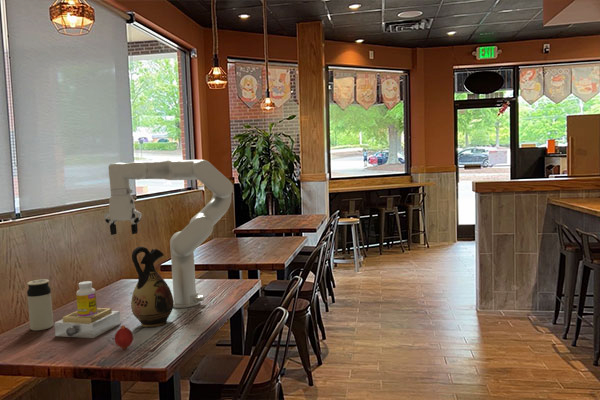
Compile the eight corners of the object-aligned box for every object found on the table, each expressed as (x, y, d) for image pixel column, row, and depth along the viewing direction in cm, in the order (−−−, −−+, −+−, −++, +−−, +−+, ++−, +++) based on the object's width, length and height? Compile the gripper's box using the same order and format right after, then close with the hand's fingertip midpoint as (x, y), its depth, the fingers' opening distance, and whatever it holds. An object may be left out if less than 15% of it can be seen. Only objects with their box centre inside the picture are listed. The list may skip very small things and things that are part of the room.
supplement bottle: (90, 319, 183) (87, 284, 182) (74, 319, 184) (71, 284, 183) (101, 313, 190) (98, 280, 189) (85, 313, 191) (82, 280, 190)
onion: (118, 346, 168) (116, 323, 167) (135, 345, 168) (134, 321, 168) (113, 352, 162) (111, 328, 161) (131, 351, 162) (129, 327, 162)
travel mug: (58, 324, 195) (54, 279, 194) (41, 331, 187) (37, 284, 186) (42, 323, 197) (38, 278, 196) (25, 330, 190) (21, 283, 189)
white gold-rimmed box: (120, 323, 193) (119, 307, 192) (89, 340, 175) (88, 321, 175) (84, 322, 197) (83, 306, 196) (51, 338, 179) (49, 320, 179)
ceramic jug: (161, 315, 202) (157, 241, 200) (182, 322, 191) (177, 244, 189) (121, 325, 190) (115, 247, 188) (140, 334, 179) (134, 251, 177)
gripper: (144, 191, 208) (147, 232, 210) (107, 193, 212) (111, 233, 214) (134, 192, 201) (138, 234, 202) (96, 194, 205) (100, 236, 206)
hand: (124, 234), depth 208 cm, fingers open, 9 cm apart
